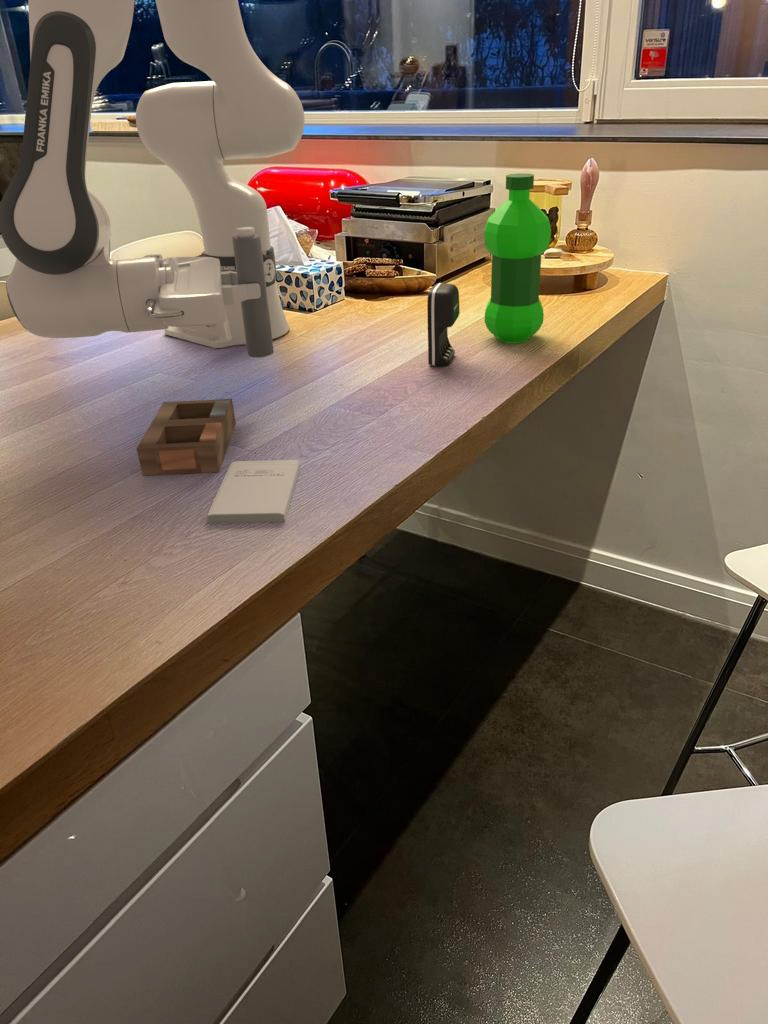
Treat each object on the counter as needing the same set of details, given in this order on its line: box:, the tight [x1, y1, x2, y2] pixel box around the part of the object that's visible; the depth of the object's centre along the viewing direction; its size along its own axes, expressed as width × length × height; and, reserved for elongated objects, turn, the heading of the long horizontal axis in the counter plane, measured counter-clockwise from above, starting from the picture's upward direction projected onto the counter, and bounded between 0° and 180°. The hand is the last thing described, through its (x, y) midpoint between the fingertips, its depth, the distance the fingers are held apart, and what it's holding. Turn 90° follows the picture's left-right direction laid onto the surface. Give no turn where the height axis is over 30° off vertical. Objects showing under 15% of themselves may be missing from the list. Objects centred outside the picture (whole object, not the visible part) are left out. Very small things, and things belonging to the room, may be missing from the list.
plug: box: [232, 227, 274, 358], centre depth 101 cm, size 4×4×16 cm
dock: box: [136, 398, 237, 477], centre depth 97 cm, size 14×9×4 cm, turn 1°
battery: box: [427, 282, 460, 367], centre depth 118 cm, size 7×4×11 cm, turn 165°
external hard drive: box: [206, 459, 301, 524], centre depth 87 cm, size 2×8×12 cm
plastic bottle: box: [483, 172, 552, 344], centre depth 123 cm, size 10×10×25 cm
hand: (259, 284), depth 100 cm, fingers closed on plug, 3 cm apart
